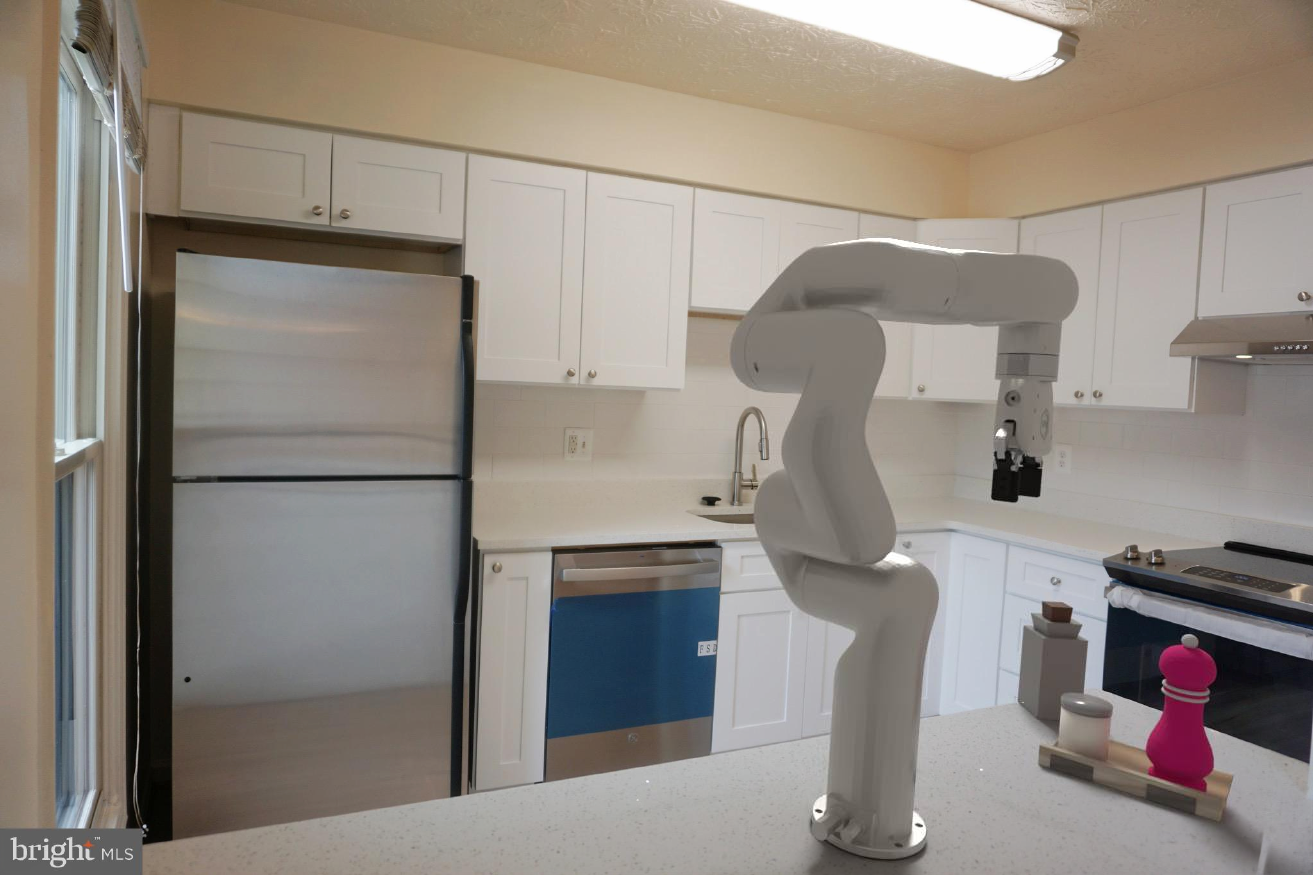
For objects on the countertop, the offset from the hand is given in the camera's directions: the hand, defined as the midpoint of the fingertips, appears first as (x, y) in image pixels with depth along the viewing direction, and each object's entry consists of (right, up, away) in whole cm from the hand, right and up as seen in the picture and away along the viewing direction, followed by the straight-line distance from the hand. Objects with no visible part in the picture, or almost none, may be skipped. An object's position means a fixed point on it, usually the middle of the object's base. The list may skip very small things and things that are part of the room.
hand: (1016, 498), depth 105 cm
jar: (+10, -36, +2) cm, 37 cm away
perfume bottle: (+14, -36, +19) cm, 43 cm away
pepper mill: (+18, -37, -5) cm, 41 cm away
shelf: (+16, -37, 0) cm, 40 cm away
